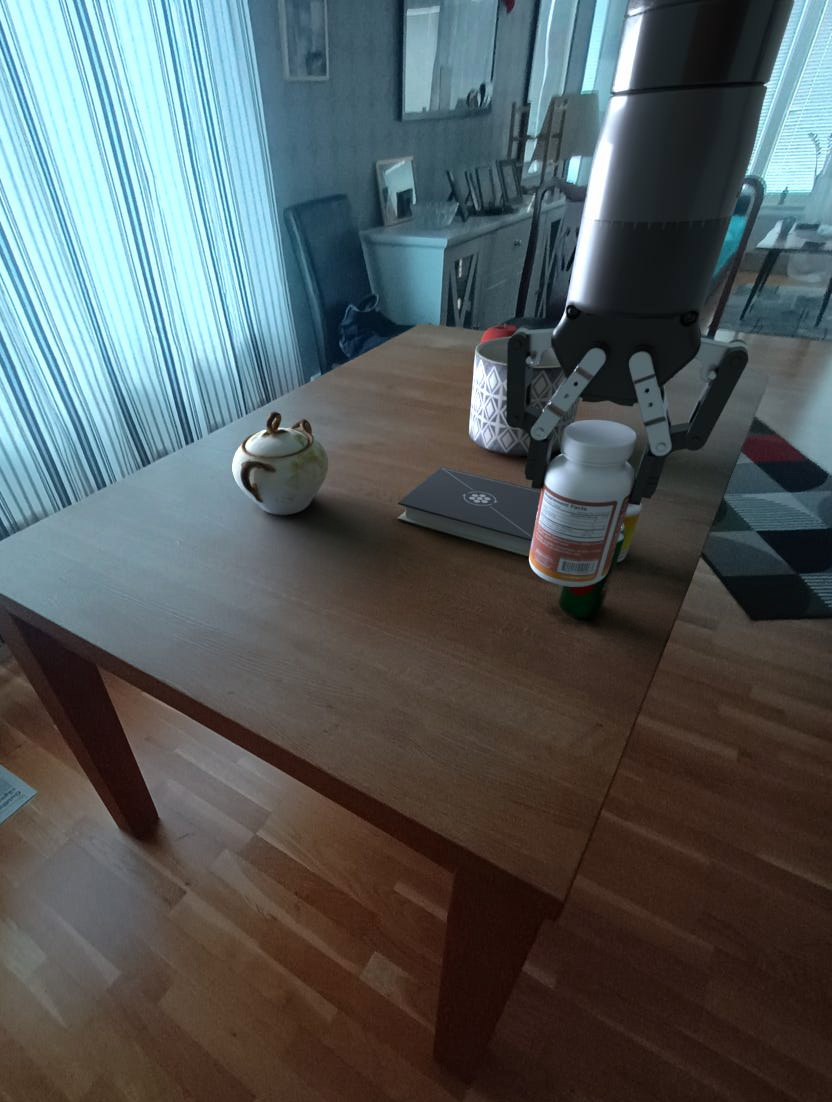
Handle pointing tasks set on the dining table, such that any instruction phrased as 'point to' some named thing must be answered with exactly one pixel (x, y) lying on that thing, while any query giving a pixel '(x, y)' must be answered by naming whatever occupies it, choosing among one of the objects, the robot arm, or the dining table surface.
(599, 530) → the pill bottle
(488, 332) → the apple
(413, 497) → the book
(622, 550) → the supplement bottle
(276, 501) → the sugar bowl
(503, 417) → the planter
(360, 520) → the dining table surface
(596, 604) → the soda can
